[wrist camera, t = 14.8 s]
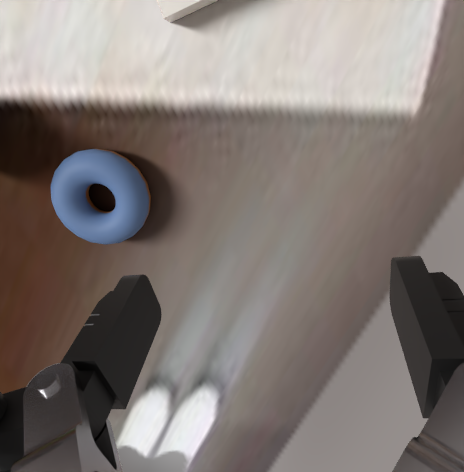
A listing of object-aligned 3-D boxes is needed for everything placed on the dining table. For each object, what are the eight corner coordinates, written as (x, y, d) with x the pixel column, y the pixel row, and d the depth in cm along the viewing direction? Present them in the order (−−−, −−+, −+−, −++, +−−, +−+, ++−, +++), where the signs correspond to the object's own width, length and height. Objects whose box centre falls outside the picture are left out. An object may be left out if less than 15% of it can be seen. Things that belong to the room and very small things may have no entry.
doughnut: (153, 148, 36) (134, 159, 32) (158, 237, 40) (142, 257, 36) (62, 140, 37) (32, 150, 33) (76, 227, 41) (52, 245, 37)
